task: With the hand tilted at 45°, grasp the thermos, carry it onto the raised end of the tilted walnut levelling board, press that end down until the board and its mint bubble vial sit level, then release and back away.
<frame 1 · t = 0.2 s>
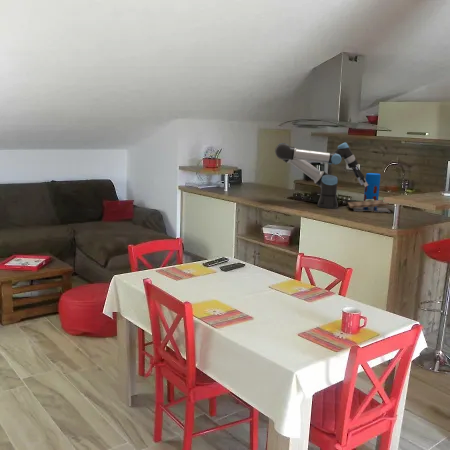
hand: (364, 185, 391), 16 cm above the table, tool tilted 35°, fingers open, 13 cm apart
tribrach base: (370, 210, 376), on the table
thermos: (370, 206, 394), on the table
levelling board: (371, 202, 374), point 6 cm above the table, hinge at -7.0°
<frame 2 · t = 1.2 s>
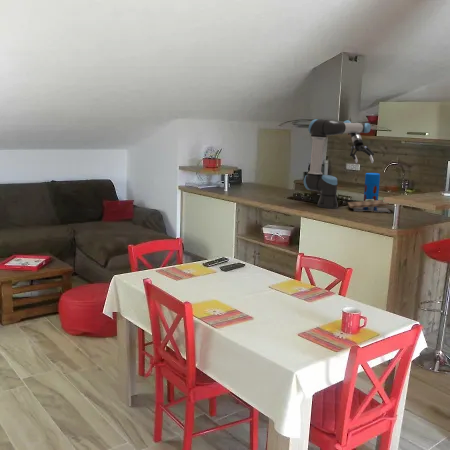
hand: (364, 162, 400), 32 cm above the table, tool tilted 45°, fingers open, 13 cm apart
nothing on the table moved.
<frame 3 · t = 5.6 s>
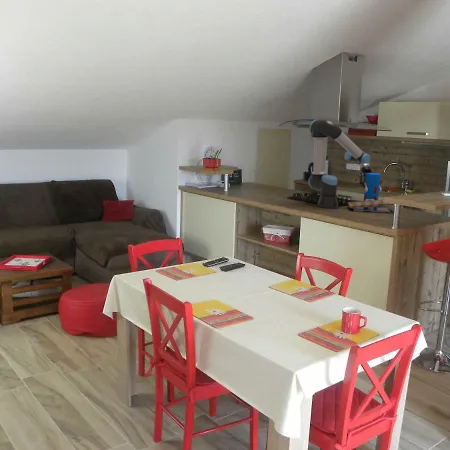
hand: (373, 191, 389), 12 cm above the table, tool tilted 45°, fingers closed on thermos, 11 cm apart
thermos: (370, 206, 394), on the table, touching gripper
everything else where it was.
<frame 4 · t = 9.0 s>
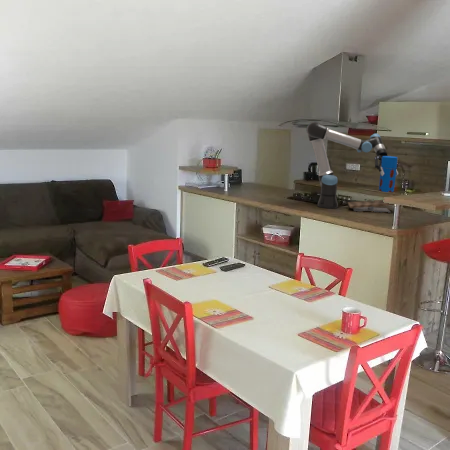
hand: (390, 175, 367), 27 cm above the table, tool tilted 45°, fingers closed on thermos, 11 cm apart
thermos: (386, 191, 372), point 15 cm above the table, touching gripper
everything else where it was.
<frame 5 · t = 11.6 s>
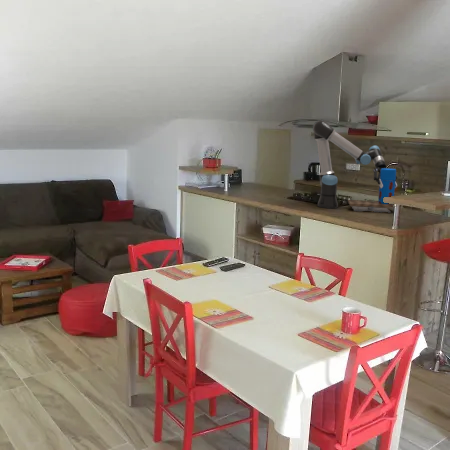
hand: (389, 187, 368), 18 cm above the table, tool tilted 45°, fingers closed on thermos, 11 cm apart
thermos: (385, 203, 373), point 6 cm above the table, touching gripper, levelling board
levelling board: (371, 202, 374), point 6 cm above the table, hinge at -0.8°, touching thermos
when the fingers open (18 cm above the table, at t = 12.7 s): thermos stays where it is, resting on levelling board.
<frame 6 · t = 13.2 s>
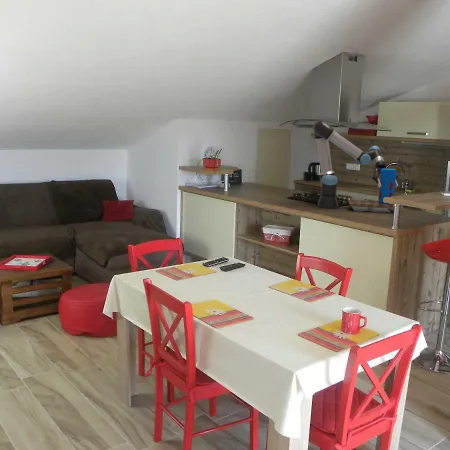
hand: (388, 186, 369), 18 cm above the table, tool tilted 45°, fingers open, 13 cm apart
thermos: (385, 203, 373), point 6 cm above the table, touching levelling board
everything else where it was.
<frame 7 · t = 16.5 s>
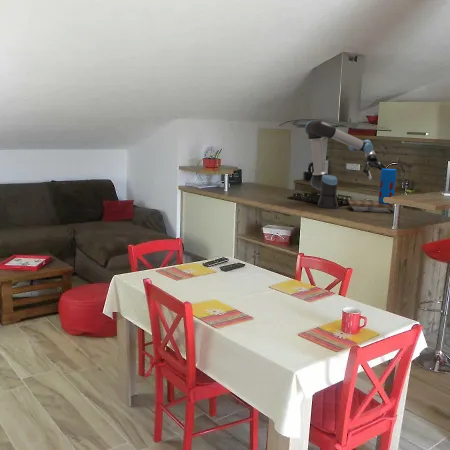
hand: (378, 179, 383), 22 cm above the table, tool tilted 45°, fingers open, 13 cm apart
levelling board: (371, 202, 374), point 6 cm above the table, hinge at 0.0°, touching thermos
everything else where it was.
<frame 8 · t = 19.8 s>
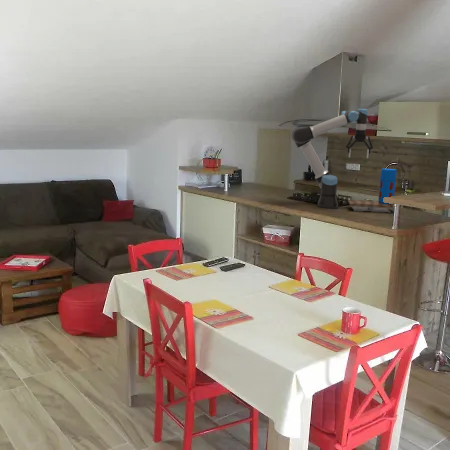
hand: (358, 157, 389), 37 cm above the table, tool pointing down, fingers open, 13 cm apart
nothing on the table moved.
at the end: levelling board at +0° (first picture: -7°); thermos inside the target area on the levelling board (0.9 cm from its centre), point 0.6 cm above the levelling board's base; thermos tilted 0° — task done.
